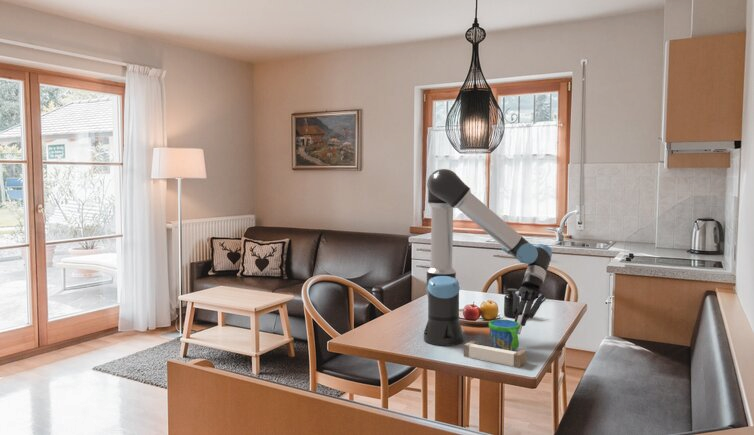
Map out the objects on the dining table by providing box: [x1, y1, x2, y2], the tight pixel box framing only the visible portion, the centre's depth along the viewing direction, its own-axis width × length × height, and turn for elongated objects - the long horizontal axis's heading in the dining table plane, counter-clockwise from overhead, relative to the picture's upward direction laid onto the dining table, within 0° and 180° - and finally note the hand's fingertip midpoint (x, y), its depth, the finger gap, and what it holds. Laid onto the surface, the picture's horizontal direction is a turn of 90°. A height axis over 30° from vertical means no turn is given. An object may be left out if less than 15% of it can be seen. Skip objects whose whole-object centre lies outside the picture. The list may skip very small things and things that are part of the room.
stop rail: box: [463, 340, 527, 369], centre depth 186 cm, size 20×6×4 cm, turn 54°
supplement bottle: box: [503, 288, 521, 319], centre depth 243 cm, size 7×7×12 cm
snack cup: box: [488, 319, 520, 352], centre depth 194 cm, size 16×10×10 cm
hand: (516, 332), depth 201 cm, fingers closed
